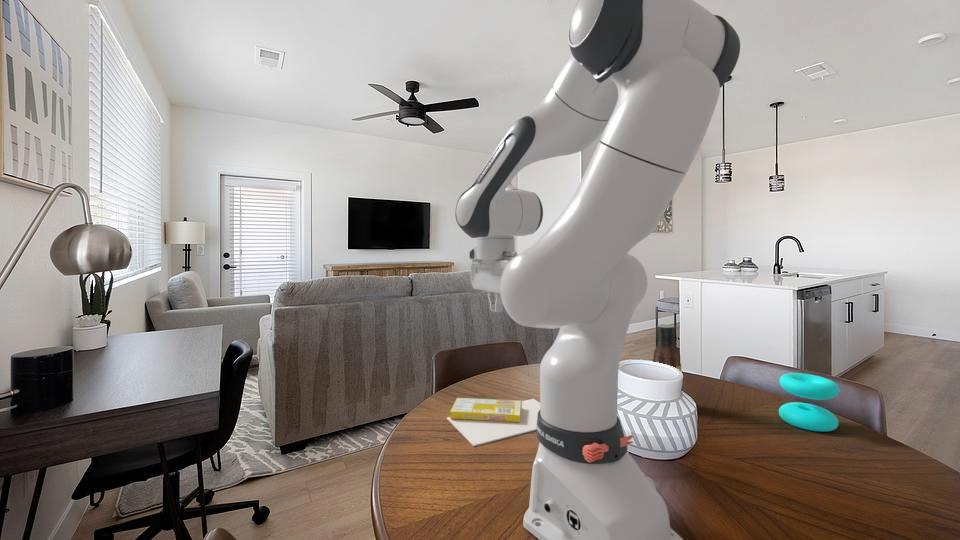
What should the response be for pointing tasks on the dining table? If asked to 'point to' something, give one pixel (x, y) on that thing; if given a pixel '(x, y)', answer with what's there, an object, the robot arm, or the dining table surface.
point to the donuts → (804, 412)
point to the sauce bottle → (667, 347)
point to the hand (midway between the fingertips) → (496, 311)
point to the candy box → (486, 409)
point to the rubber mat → (498, 425)
